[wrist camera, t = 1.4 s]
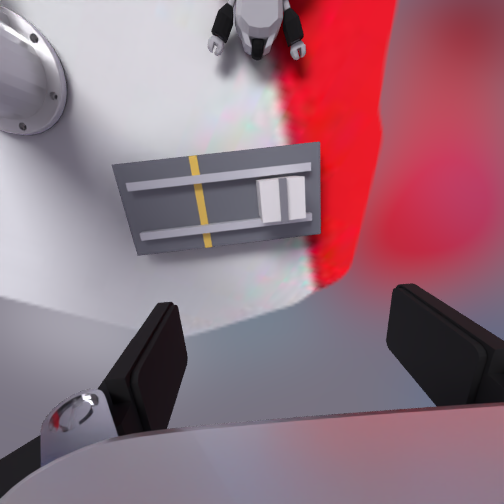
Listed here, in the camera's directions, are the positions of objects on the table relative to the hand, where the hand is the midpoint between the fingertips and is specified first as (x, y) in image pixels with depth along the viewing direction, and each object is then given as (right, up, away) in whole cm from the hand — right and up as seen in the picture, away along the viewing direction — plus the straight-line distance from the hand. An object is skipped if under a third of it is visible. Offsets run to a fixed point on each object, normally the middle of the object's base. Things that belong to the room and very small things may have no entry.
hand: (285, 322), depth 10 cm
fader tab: (+2, +10, +21) cm, 23 cm away
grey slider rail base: (-5, +11, +24) cm, 26 cm away
